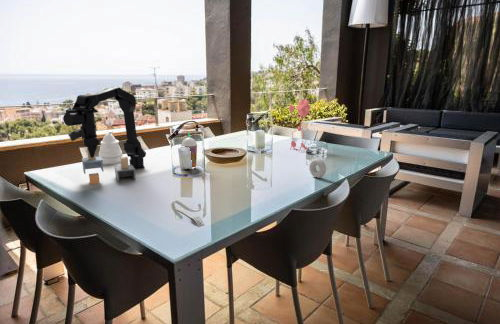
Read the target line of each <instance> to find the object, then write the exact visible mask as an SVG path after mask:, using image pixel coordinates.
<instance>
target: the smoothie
mask: <svg viewBox="0 0 500 324" xmlns="http://www.w3.org/2000/svg"><path fill="white" fill-rule="evenodd" d="M187 135H188V137H186V138H184V139H183V140H182V143H181V147H182V146H185V147H189V148H190V151H191V160H192V167H195V168H196V167H197V156H198V155H197V154H198V153H197V152H198V143H197V141H196V140H195V139H194V138H193V137H191V135H190V132H188V133H187Z"/></svg>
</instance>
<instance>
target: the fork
mask: <svg viewBox="0 0 500 324" xmlns="http://www.w3.org/2000/svg"><path fill="white" fill-rule="evenodd" d="M175 210H176V211H178V212H180V213H182V214H184V215H185V216H187V217H189V218H190V219H193V220H194V221H195V223H196V224H197V226H198V227H199V228H202V227H205V223H204V221H203V220H202V218H201V217H200V215H193V216H192V215H190V214H189V213H188V212H187V211H185V209H184V208H183V207H175Z"/></svg>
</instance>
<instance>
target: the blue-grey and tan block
mask: <svg viewBox="0 0 500 324" xmlns="http://www.w3.org/2000/svg"><path fill="white" fill-rule="evenodd" d="M86 148H87V150H86V151H87V157H81V162H82V171H83V173H84V175H86V170H91V169H92V170H93V169H100V170H101V172H104V164H103V160H102V158H101V156H99V155H97V156H96V153H95V154H94V157H93V158H91V156H90V153H89V150H88V147H86Z"/></svg>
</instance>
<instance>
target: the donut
mask: <svg viewBox="0 0 500 324" xmlns="http://www.w3.org/2000/svg"><path fill="white" fill-rule="evenodd" d="M308 167H309V172H310V175H311V176H312V177H314V178H316V177H317V178H316V179H321V178H323V177H324V176H325V174H326V173H327V166H326V164H325V162H324V161H323V160H322V159H321V158H316V157H315V158H313V159H312V160H311V161H310V163H309V165H308ZM317 167H318V169H319V170H317Z"/></svg>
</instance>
